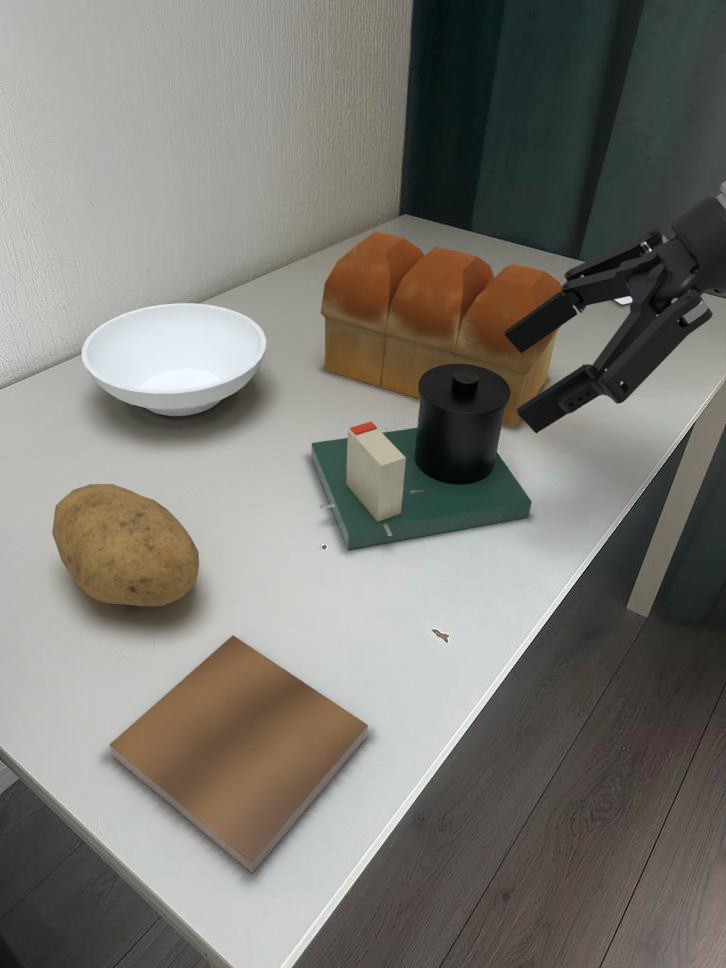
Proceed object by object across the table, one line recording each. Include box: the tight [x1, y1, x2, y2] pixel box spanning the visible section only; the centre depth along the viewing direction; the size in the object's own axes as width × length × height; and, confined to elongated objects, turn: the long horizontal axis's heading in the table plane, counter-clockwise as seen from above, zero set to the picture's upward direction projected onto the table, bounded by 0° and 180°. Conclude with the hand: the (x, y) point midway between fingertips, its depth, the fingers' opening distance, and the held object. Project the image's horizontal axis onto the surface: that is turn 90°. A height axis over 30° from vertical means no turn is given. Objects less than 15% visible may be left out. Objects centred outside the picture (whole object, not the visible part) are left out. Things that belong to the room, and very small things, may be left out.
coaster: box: [613, 296, 633, 305], centre depth 114 cm, size 8×8×1 cm
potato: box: [51, 483, 200, 607], centre depth 63 cm, size 10×14×8 cm
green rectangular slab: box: [310, 427, 533, 551], centre depth 76 cm, size 15×20×2 cm
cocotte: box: [415, 364, 511, 485], centre depth 74 cm, size 9×9×10 cm
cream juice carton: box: [346, 421, 406, 522], centre depth 70 cm, size 6×2×7 cm, turn 29°
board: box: [109, 634, 369, 874], centre depth 54 cm, size 13×12×2 cm
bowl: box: [81, 302, 267, 417], centre depth 86 cm, size 20×20×7 cm
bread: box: [320, 230, 563, 429], centre depth 89 cm, size 25×12×15 cm, turn 63°
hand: (518, 379), depth 71 cm, fingers open, 13 cm apart
